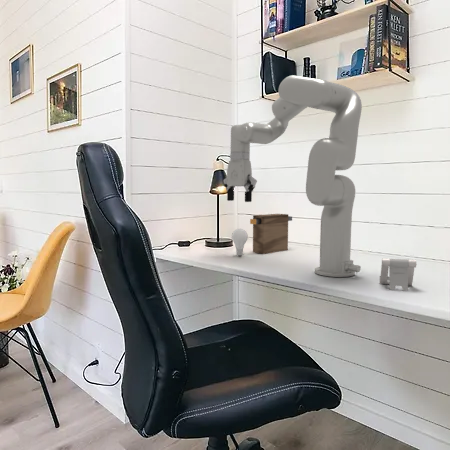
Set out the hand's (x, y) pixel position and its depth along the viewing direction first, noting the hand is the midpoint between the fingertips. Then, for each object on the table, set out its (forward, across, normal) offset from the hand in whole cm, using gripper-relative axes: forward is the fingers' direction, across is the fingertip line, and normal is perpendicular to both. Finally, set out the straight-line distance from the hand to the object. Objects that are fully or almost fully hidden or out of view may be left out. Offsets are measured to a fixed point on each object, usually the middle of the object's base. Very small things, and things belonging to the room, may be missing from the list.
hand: (239, 201), depth 169 cm
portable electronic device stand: (+21, +67, -4) cm, 70 cm away
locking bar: (+10, +1, +20) cm, 22 cm away
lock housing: (+22, +1, +19) cm, 29 cm away
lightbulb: (+22, +1, 0) cm, 22 cm away
